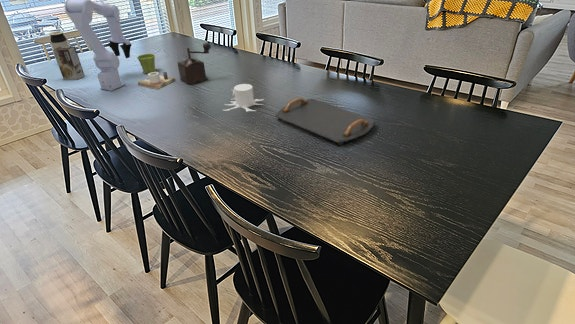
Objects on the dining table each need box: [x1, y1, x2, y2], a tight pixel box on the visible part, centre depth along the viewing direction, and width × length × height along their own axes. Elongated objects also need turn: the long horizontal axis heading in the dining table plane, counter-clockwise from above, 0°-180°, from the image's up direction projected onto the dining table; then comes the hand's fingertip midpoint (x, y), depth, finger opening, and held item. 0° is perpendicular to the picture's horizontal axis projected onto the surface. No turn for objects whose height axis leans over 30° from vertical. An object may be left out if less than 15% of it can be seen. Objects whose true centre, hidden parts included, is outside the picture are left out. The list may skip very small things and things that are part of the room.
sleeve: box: [147, 71, 161, 85], centre depth 189 cm, size 5×5×5 cm
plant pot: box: [136, 53, 156, 74], centre depth 208 cm, size 9×9×9 cm
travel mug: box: [48, 30, 69, 50], centre depth 224 cm, size 8×8×18 cm
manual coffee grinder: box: [177, 42, 212, 86], centre depth 193 cm, size 16×11×18 cm
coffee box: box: [52, 45, 86, 81], centre depth 202 cm, size 9×6×16 cm
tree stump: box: [223, 83, 265, 113], centre depth 167 cm, size 20×19×8 cm
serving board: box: [274, 97, 376, 147], centre depth 149 cm, size 39×23×6 cm, turn 45°
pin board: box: [137, 71, 176, 90], centre depth 194 cm, size 13×13×5 cm
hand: (122, 56), depth 200 cm, fingers open, 7 cm apart
